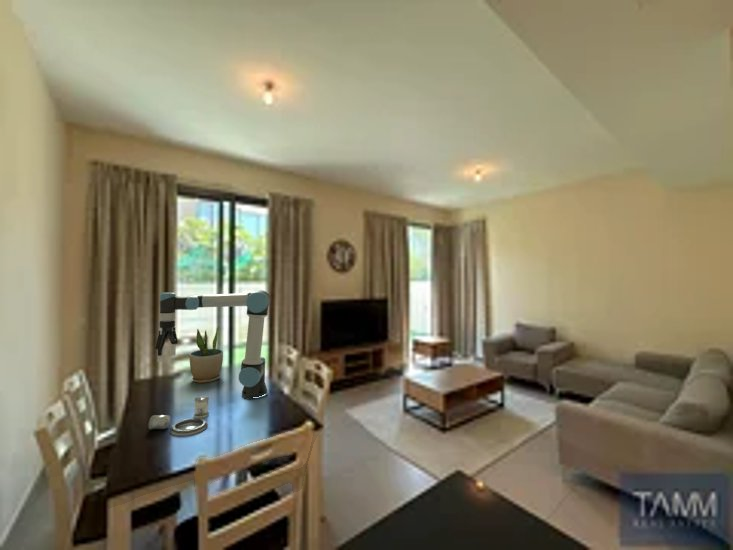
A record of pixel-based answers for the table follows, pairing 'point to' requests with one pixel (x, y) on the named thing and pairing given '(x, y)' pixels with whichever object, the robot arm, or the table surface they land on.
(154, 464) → the table surface
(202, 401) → the knob
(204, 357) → the potted plant
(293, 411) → the table surface
